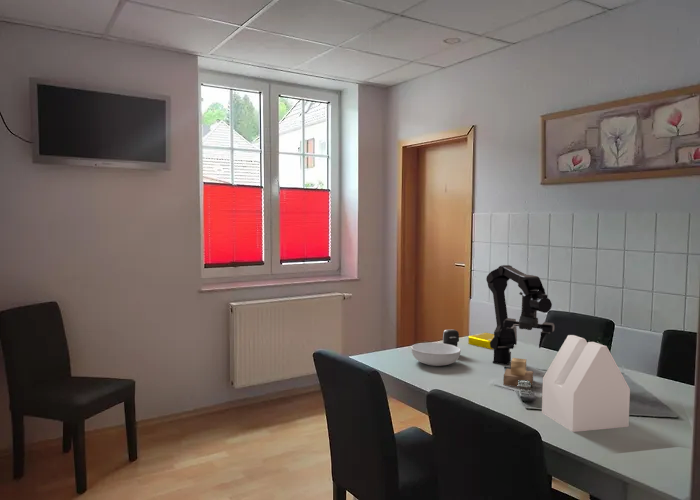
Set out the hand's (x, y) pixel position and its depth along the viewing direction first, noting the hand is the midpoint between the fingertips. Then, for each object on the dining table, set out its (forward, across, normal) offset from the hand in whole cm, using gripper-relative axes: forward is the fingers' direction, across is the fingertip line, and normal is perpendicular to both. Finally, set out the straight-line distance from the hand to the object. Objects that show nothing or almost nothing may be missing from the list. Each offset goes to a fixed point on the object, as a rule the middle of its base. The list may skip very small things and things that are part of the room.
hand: (527, 346), depth 208 cm
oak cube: (+8, -1, -12) cm, 14 cm away
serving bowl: (+12, -37, -2) cm, 39 cm away
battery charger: (+13, -36, +15) cm, 41 cm away
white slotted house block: (+11, +24, -40) cm, 48 cm away
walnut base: (+12, -1, -12) cm, 17 cm away
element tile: (+14, -26, +44) cm, 53 cm away
